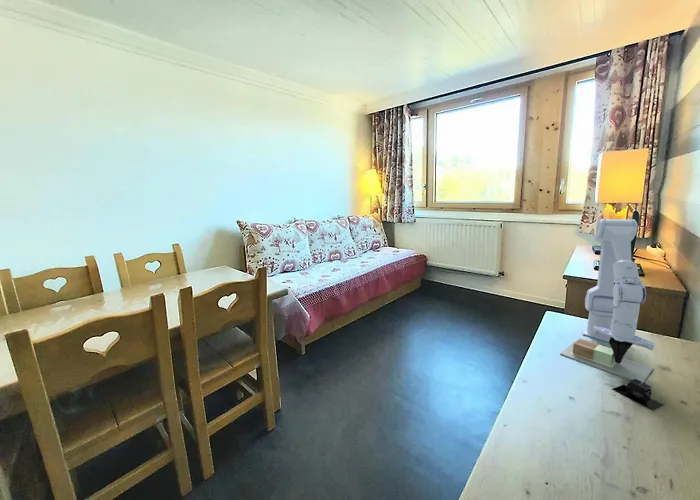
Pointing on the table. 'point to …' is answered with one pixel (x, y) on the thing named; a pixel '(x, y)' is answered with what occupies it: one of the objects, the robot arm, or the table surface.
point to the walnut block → (584, 348)
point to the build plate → (614, 366)
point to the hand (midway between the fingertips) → (618, 361)
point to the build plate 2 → (639, 394)
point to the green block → (603, 355)
